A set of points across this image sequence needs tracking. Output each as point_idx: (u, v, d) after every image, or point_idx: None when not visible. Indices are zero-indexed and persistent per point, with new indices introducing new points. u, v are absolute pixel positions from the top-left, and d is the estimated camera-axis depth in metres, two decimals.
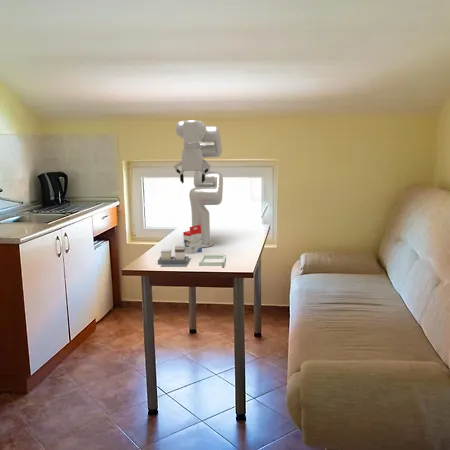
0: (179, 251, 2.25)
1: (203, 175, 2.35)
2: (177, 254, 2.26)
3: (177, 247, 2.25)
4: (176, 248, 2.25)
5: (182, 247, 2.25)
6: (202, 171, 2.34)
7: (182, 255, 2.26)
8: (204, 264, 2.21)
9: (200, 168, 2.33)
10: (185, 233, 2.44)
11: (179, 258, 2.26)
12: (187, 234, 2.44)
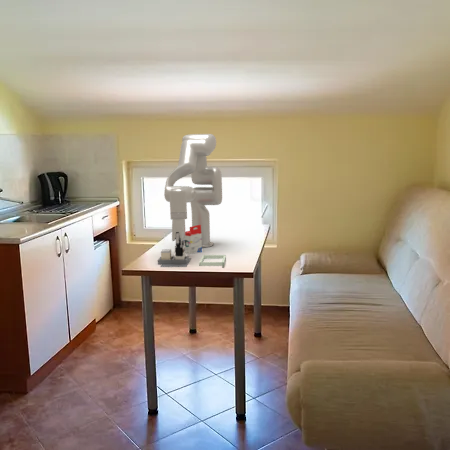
0: None
1: None
2: None
3: None
4: None
5: None
6: (183, 241, 2.29)
7: None
8: (204, 264, 2.21)
9: None
10: (185, 233, 2.44)
11: (179, 258, 2.26)
12: (187, 234, 2.44)
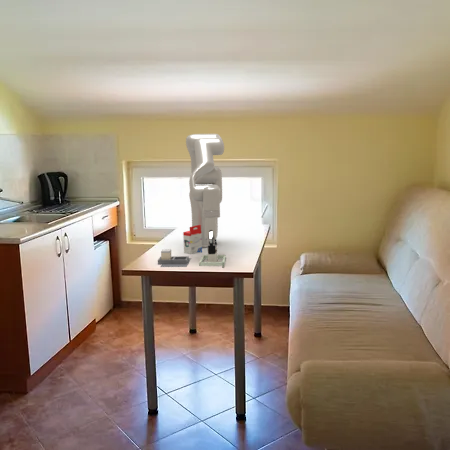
0: None
1: (215, 242, 2.31)
2: (209, 254, 2.26)
3: None
4: None
5: (215, 247, 2.25)
6: None
7: (215, 255, 2.26)
8: (204, 264, 2.21)
9: None
10: (185, 233, 2.44)
11: (212, 258, 2.26)
12: (187, 234, 2.44)
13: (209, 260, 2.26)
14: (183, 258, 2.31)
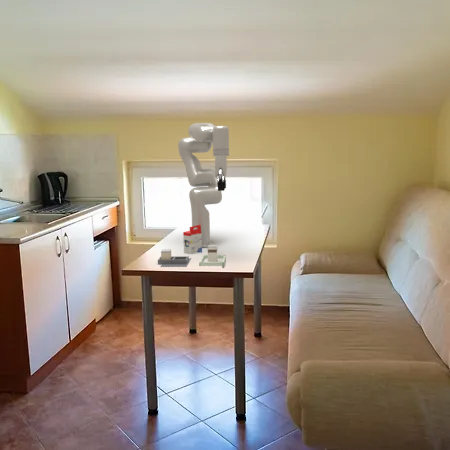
0: (212, 251, 2.25)
1: (224, 181, 2.37)
2: (209, 254, 2.26)
3: (210, 247, 2.25)
4: (209, 248, 2.25)
5: (215, 247, 2.25)
6: None
7: (215, 255, 2.26)
8: (204, 264, 2.21)
9: None
10: (185, 233, 2.44)
11: (212, 258, 2.26)
12: (187, 234, 2.44)
13: (209, 260, 2.26)
14: (183, 258, 2.31)
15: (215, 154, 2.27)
